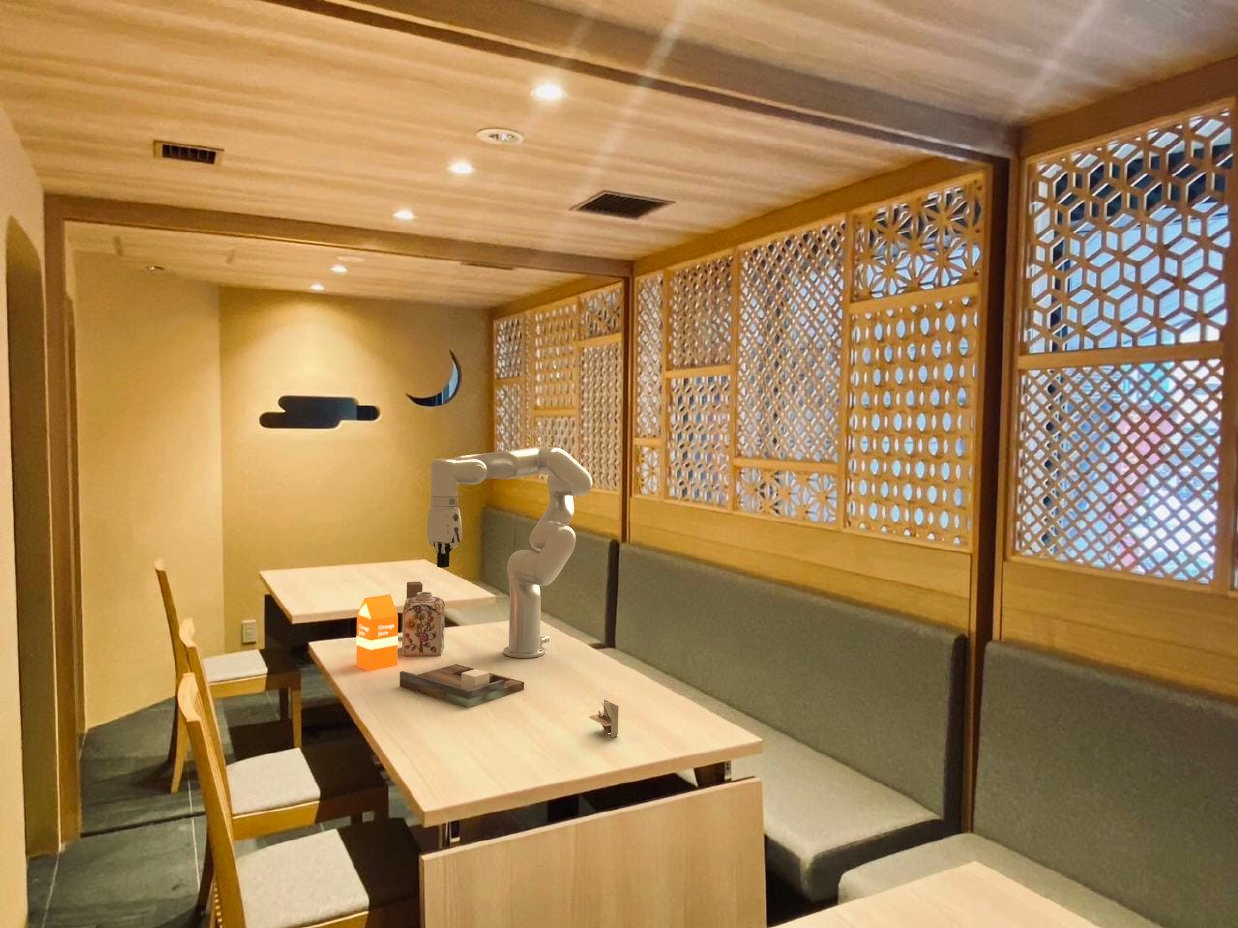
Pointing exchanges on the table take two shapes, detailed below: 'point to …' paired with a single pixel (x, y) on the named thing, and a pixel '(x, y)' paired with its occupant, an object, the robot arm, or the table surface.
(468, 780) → the table surface
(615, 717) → the architectural model
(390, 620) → the orange juice
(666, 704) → the table surface
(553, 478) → the robot arm
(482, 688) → the board
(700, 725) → the table surface
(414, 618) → the decorative jar
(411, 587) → the wooden block
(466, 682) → the block
